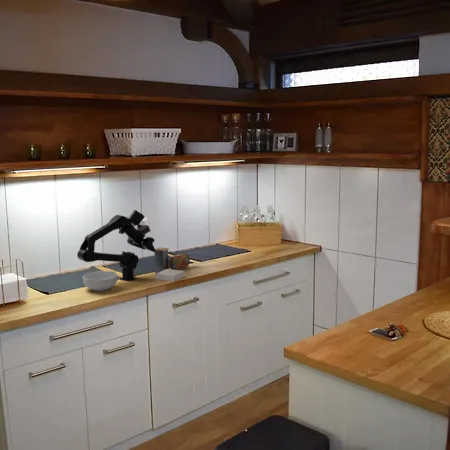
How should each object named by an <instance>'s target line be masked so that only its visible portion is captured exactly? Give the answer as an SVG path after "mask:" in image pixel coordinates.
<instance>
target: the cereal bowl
mask: <svg viewBox="0 0 450 450" xmlns="http://www.w3.org/2000/svg"><path fill="white" fill-rule="evenodd" d="M82 282H83V285H84V286H85V288H88V289H89V290H93V291H94V292H105V291H107V290H109V289H111V288H113V287H114V286H115V285H116V284H117V282H118V273H116V272H114V271H111V270H110V271H108V270H107V271H106V270H105V271H104V270H102V271H101V270H99V271H92V272H88V273H85V274H83V276H82Z"/></svg>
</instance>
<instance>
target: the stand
mask: <svg viewBox="0 0 450 450" xmlns="http://www.w3.org/2000/svg"><path fill="white" fill-rule="evenodd" d="M184 277H185V271H184V270H171V269H170V268H169V269H166V270H163V271H161V272H159V273H155V280H161V281H165V282H166V281H168V282H176V281H179V280H180V279H182V278H184Z"/></svg>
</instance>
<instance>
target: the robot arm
mask: <svg viewBox="0 0 450 450" xmlns="http://www.w3.org/2000/svg"><path fill="white" fill-rule="evenodd" d="M144 219H145V216H144V214H143V213H141V212H139V211H138V210H137V209H134V210H133V211H132V213H131V214H130V215H129V216H125V215H120V214H116V215H113V217H112V218H111V219H110V220H109V221H108V222H107V223H106V224H104V225H102V226H101V227H99V228H97V229H95V230H94V231H92V232H91V233H89V234H86V236H85V237H84V240H83V242H82V243H81V245H80V247H79V250H78V251H77V253H76V254H77V258H78V260H81V261H83V262H85V263H93V262H96V261H101V262H116V263H118V265H119V267H120V268H121V272H122V273H121V274H122V275H121V276H122V277H121V278H120V279H119V281H120V280H121V281H125V282H126V281H127V282H128V281H129V282H130V281H134V280H136V279H137V277H136V276H135V269H136V268H137V266H138V263H139V261H140V260H139V256H138V255H137V254H135V253H134V252H132V251H122V253H119V254H118V253H108V252H96V251H95V248H96V245H95V244H96V242H97V241H98V240H100V239H102V238H104V237H105V236H107V235H108V234H110V233H111V232H113V231H117V230H118V233H119V234H120V235H124V234H125V236H127V241H126V242H127V244H129V245H130V246H133V247H136V248H139V249H142V250H144V251H145V250H147V251H150V252H153V253H155V251H156V250H155V249H156V248H155V246H154V242H155V238H153V236H146V235H147V234H148V233H150V232H151V229H150V226H149V225H148V224H141V223H142V221H143V220H144Z"/></svg>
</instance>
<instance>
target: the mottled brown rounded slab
mask: <svg viewBox="0 0 450 450" xmlns="http://www.w3.org/2000/svg"><path fill="white" fill-rule="evenodd" d="M190 262H191V260H190V256H189V254H187V253H180V254H177V255H173V256H171V258H170V259H169V269H170V270H179V271H182V270H184V269H187V268H189V265H190Z"/></svg>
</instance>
